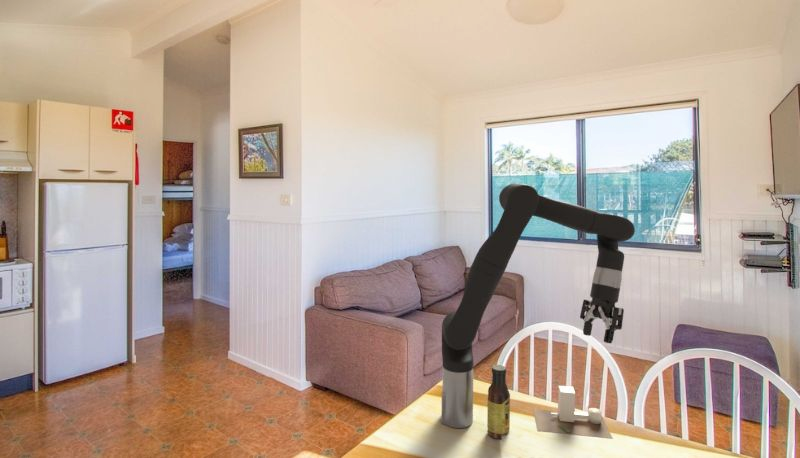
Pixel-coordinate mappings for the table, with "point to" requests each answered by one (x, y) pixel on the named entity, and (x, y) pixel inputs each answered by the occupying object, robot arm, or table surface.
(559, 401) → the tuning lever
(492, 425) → the sauce bottle
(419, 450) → the table surface
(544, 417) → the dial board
